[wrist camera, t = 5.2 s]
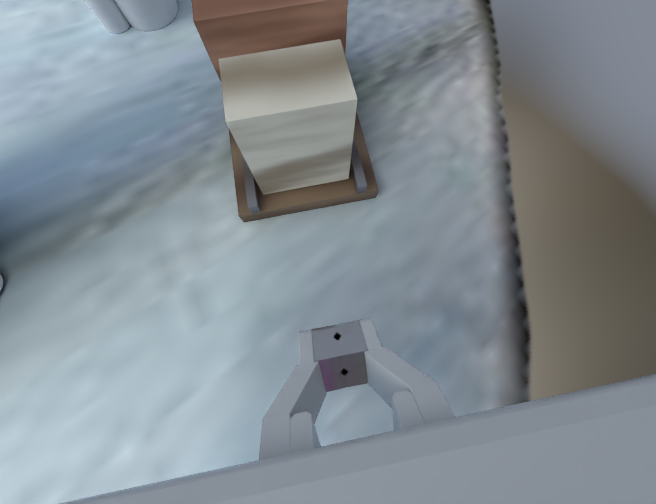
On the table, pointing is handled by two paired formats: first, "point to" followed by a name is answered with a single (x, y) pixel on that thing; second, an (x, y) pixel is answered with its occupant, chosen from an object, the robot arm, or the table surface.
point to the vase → (134, 14)
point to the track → (306, 192)
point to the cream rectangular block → (291, 114)
